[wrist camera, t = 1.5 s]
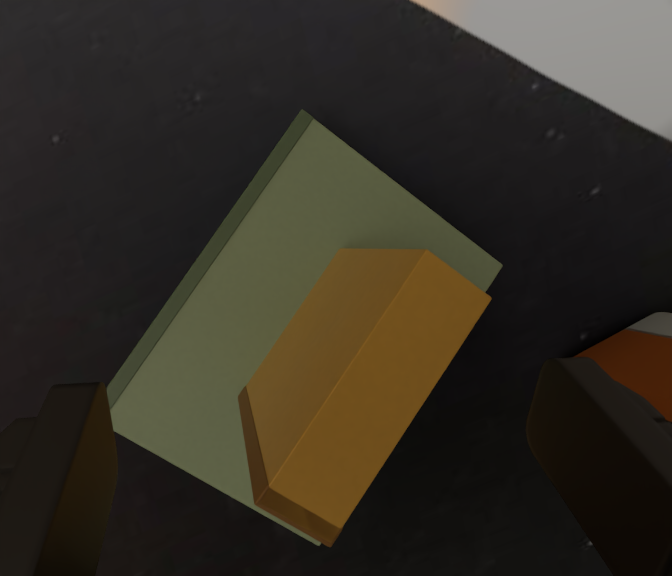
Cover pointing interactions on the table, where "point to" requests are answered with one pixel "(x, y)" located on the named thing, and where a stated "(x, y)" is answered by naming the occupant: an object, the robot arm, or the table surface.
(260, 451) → the mustard book
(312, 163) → the sage book
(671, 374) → the alarm clock
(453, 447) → the table surface
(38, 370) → the table surface
